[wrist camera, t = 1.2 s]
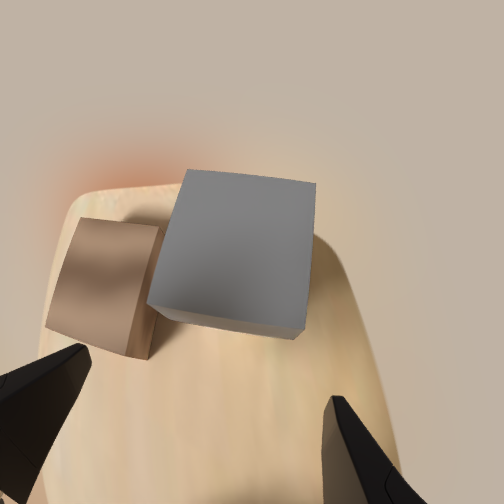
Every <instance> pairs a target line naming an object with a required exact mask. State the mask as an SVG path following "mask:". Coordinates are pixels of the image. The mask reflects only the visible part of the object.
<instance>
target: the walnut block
mask: <svg viewBox="0 0 504 504" xmlns="http://www.w3.org/2000/svg"><path fill="white" fill-rule="evenodd" d="M164 237H165V236H164V234H163V232H162V231H161V229H160V227H159V226H152V225H143V224H135V223H126V222H118V221H109V220H100V219H91V218H82V217H81V218H80V220H79V223H78V225H77V228H76V230H75V233H74V235H73V238H72V240H71V243H70V246H69V248H68V251H67V254H66V257H65V259H64V262H63V265H62V268H61V271H60V274H59V277H58V281H57V284H56V287H55V291H54V294H53V298H52V301H51V305H50V308H49V312H48V316H47V320H46V325H45V327H46V328H48V329H51V330H53V331H56V332H58V333H60V334H63V335H65V336H68V337H71V338H73V339H76V340H78V341H81V342H84V343H87V344H89V345H92V346H95V347H98V348H101V349H104V350H107V351H110V352H113V353H116V354H119V355H123V356H126V357H132V358H137V359H142V360H148V355H149V350H150V346H151V341H152V336H153V331H154V327H155V322H156V318H157V314H158V311H157V310H155V309H154V308H152V307H151V306H150V305H148V304H147V299H148V295H149V291H150V287H151V283H152V279H153V276H154V272H155V268H156V265H157V261H158V258H159V254H160V251H161V247H162V244H163V241H164Z"/></svg>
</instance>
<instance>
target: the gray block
mask: <svg viewBox="0 0 504 504" xmlns="http://www.w3.org/2000/svg"><path fill="white" fill-rule="evenodd" d="M315 194H316V183H310V182H302V181H296V180H289V179H281V178H273V177H264V176H257V175H247V174H238V173H227V172H216V171H204V170H191V169H188V170H187V172H186V174H185V177H184V180H183V183H182V186H181V188H180V191H179V194H178V197H177V200H176V203H175V206H174V209H173V212H172V215H171V218H170V221H169V225H168V228H167V231H166V234H165V237H164V241H163V244H162V247H161V251H160V254H159V258H158V261H157V265H156V268H155V272H154V276H153V279H152V283H151V287H150V291H149V295H148V299H147V304H148V305H150V306H151V307H152V308H154V309H155V310H157V311H158V312H159V313H161V314H162V315H164V316H165V317H167V318H168V319H170V320H174V321H179V322H184V323H189V324H194V325H199V326H205V327H210V328H216V329H222V330H227V331H234V332H240V333H246V334H253V335H260V336H267V337H274V338H282V339H290V340H294V339H295V338H296V337H297V336H298V335H299V334H300V333H301V332H303V331H304V330H305V323H306V314H307V304H308V294H309V283H310V272H311V260H312V247H313V232H314V215H315Z"/></svg>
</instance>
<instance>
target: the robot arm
mask: <svg viewBox="0 0 504 504" xmlns="http://www.w3.org/2000/svg"><path fill="white" fill-rule="evenodd" d="M91 365H92V360H91V357H90V354H89V350H88V348H87V346H86V345H83V344H80V343H76V344H74V345H71V346H69V347H67V348H64V349H62V350H60V351H57V352H55V353H53V354H51V355H48V356H46V357H44V358H41V359H39V360H37V361H34V362H32V363H30V364H27V365H25V366H23V367H20V368H18V369H16V370H13V371H11V372H9V373H6V374H4V375H1V376H0V504H4V501H3V499H2V498H1V497H2V495H3V493H5V494H6V495H7V496H9V497H10V498H11V499H13V500H14V501H15V502H17V503H18V504H26V503H27V500H28V497H29V495H30V493H31V491H32V488H33V486H34V483H35V481H36V479H37V477H38V475H39V473H40V470H41V468H42V466H43V464H44V461H45V459H46V457H47V455H48V453H49V451H50V449H51V447H52V445H53V443H54V441H55V439H56V437H57V435H58V433H59V431H60V429H61V427H62V425H63V423H64V422H65V420H66V418H67V416H68V414H69V412H70V410H71V409H72V407H73V405H74V403H75V401H76V399H77V398H78V396H79V393H80V391H81V389H82V386H83V384H84V382H85V379H86V377H87V375H88V373H89V370H90V368H91ZM321 455H322V475H323V499H324V504H427V503H426V502H425V501H424V500H423V499H422V498H421V497H420V496H419V495H418V494H417V493H416V492H415V491H414V490H413V489H412V488H411V487H410V485H409V484H408V483H407V482H406V481H405V480H404V478H403V477H402V476H401V474H400V473H399V472H398V471H397V469H396V468H395V466H393V464H392V463H391V461H390V460H389V458H388V457H387V456H386V454H385V453H384V452H383V450H382V449H381V448H380V446H379V445H378V443H377V442H376V441H375V439H374V438H373V437H372V435H371V434H370V432H369V431H368V430H367V428H366V427H365V426H364V424H363V423H362V421H361V420H360V419H359V417H358V416H357V415H356V413H355V412H354V410H353V409H352V408H351V406H350V405H349V403H348V402H347V401H346V399H345V398H344V397H343V396H335V395H333V396H331V397H330V399H329V401H328V403H327V406H326V408H325V410H324V416H323V434H322V450H321Z"/></svg>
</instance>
